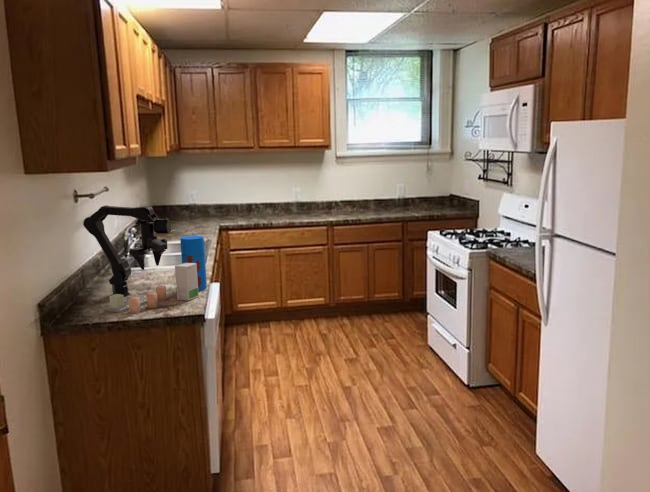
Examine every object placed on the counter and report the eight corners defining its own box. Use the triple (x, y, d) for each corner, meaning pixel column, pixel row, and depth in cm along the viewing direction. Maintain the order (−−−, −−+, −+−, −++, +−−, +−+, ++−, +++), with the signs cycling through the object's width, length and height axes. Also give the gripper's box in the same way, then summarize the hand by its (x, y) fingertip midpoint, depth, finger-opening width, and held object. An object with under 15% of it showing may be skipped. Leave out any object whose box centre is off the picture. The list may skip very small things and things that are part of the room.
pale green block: (110, 307, 228) (109, 296, 227) (117, 305, 232) (116, 293, 231) (117, 308, 227) (116, 297, 226) (124, 306, 230) (123, 294, 229)
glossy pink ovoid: (154, 300, 241) (153, 287, 240) (161, 298, 245) (160, 285, 244) (162, 301, 239) (161, 288, 238) (168, 299, 243) (167, 286, 242)
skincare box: (188, 301, 239) (186, 266, 236) (176, 299, 242) (173, 265, 239) (199, 296, 247) (197, 262, 244) (187, 295, 249) (185, 262, 246)
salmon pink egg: (145, 308, 230) (144, 294, 229) (151, 305, 234) (150, 291, 233) (154, 308, 229) (153, 294, 228) (160, 306, 233) (159, 292, 232)
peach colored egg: (127, 312, 224) (125, 298, 223) (135, 309, 228) (133, 296, 227) (135, 314, 222) (133, 300, 221) (142, 311, 226) (141, 297, 225)
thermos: (190, 285, 266) (186, 235, 262) (210, 286, 264) (207, 235, 260) (179, 291, 256) (176, 239, 251) (201, 292, 254) (197, 239, 249)
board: (104, 310, 228) (104, 308, 228) (138, 298, 245) (138, 296, 244) (120, 313, 224) (120, 310, 224) (153, 300, 241) (153, 298, 241)
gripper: (145, 238, 234) (148, 273, 236) (175, 231, 250) (177, 264, 253) (126, 236, 238) (129, 271, 241) (157, 230, 255) (159, 262, 258)
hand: (150, 267), depth 248 cm, fingers open, 9 cm apart
